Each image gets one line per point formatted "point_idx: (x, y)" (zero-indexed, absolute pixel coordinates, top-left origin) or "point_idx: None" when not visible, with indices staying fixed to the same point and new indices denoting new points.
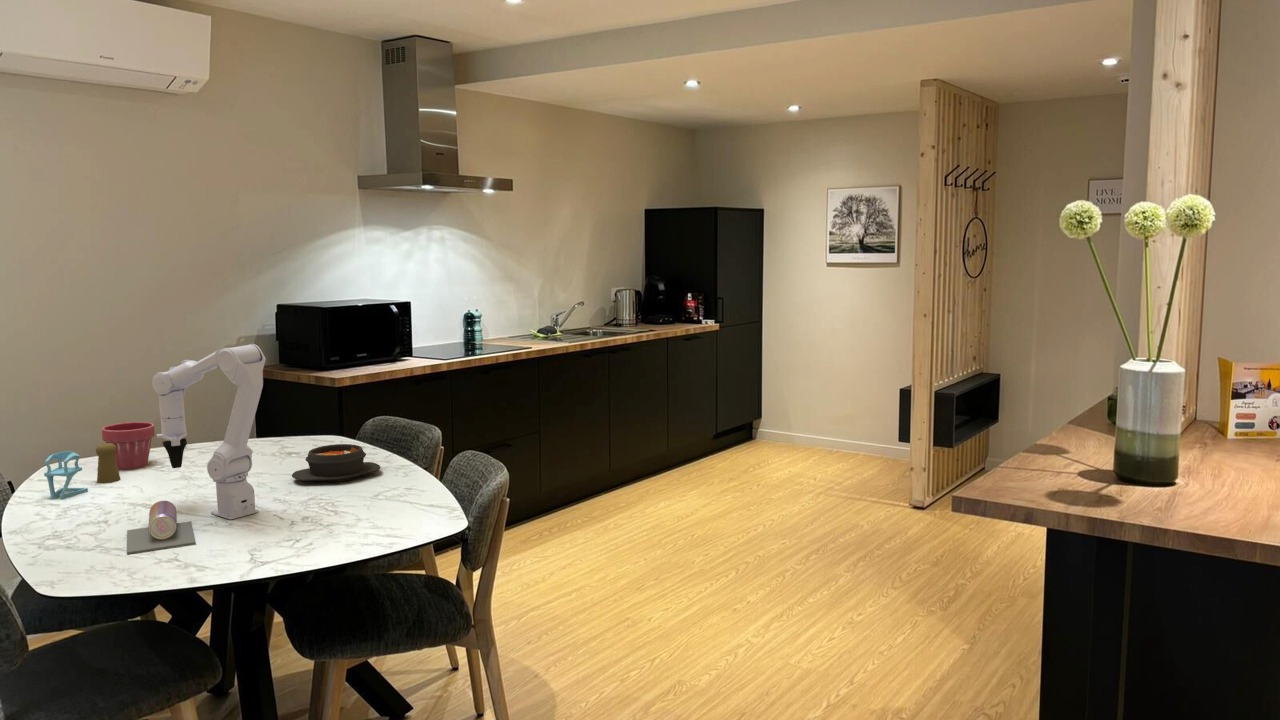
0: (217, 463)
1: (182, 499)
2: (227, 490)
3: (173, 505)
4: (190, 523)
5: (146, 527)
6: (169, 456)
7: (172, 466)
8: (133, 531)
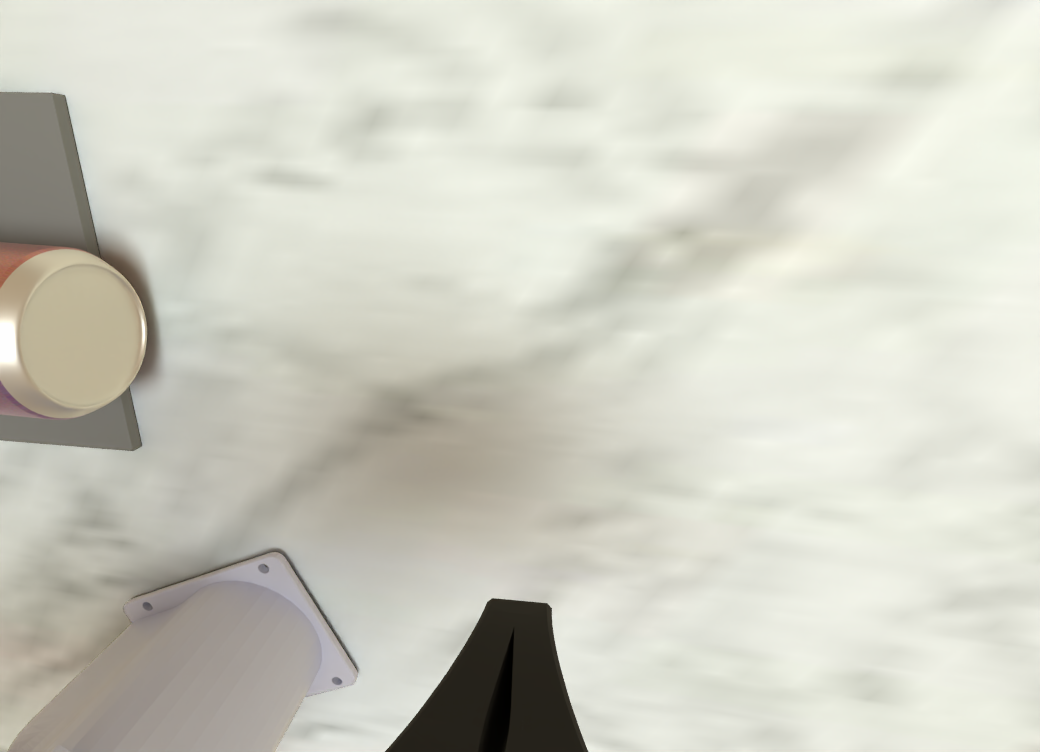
0: None
1: (704, 468)
2: (43, 739)
3: (6, 414)
4: (88, 441)
5: (78, 215)
6: (411, 723)
7: (483, 616)
8: (10, 133)
